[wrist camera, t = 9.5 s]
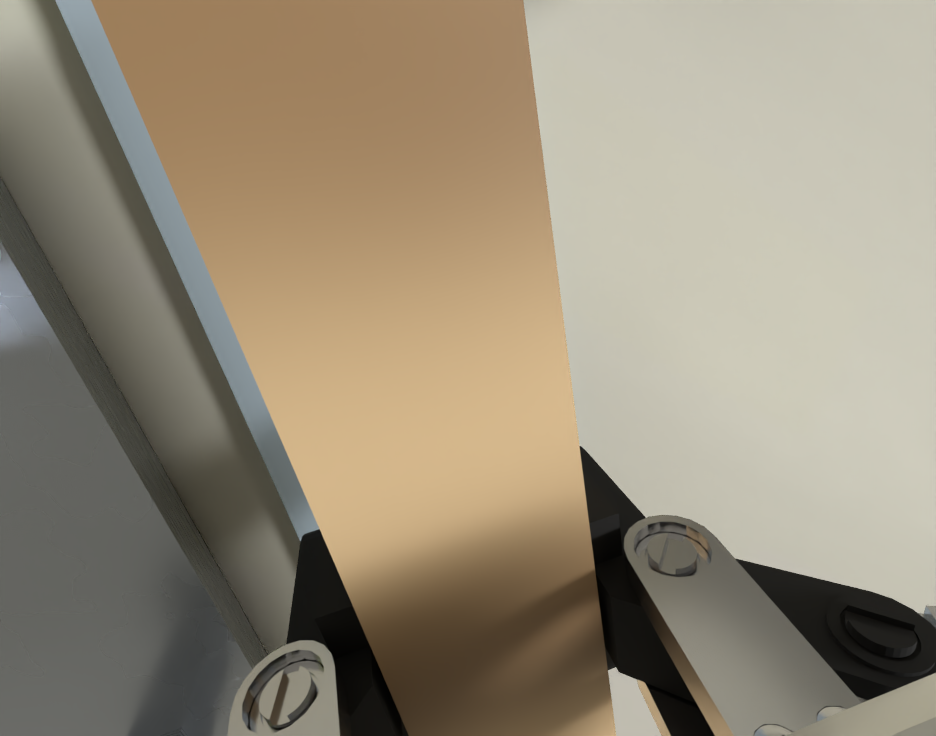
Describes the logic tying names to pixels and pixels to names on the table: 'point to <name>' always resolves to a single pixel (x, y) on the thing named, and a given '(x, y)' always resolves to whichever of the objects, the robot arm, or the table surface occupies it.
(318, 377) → the oak rail
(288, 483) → the slate mat
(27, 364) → the stand
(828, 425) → the table surface
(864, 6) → the table surface
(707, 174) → the table surface
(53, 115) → the table surface
